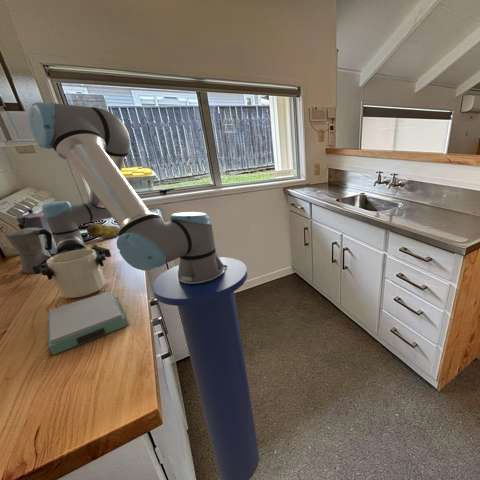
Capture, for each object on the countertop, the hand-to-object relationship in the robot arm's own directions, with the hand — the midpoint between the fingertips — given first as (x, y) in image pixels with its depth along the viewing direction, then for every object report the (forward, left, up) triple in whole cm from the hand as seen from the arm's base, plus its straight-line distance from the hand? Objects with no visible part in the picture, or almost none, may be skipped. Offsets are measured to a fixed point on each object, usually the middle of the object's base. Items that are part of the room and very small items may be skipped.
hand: (76, 268), depth 77 cm
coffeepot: (+10, -40, -10) cm, 42 cm away
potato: (-13, -66, -10) cm, 68 cm away
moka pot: (+9, -58, -10) cm, 60 cm away
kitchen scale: (+1, +17, -10) cm, 20 cm away
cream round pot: (0, -4, -9) cm, 10 cm away
